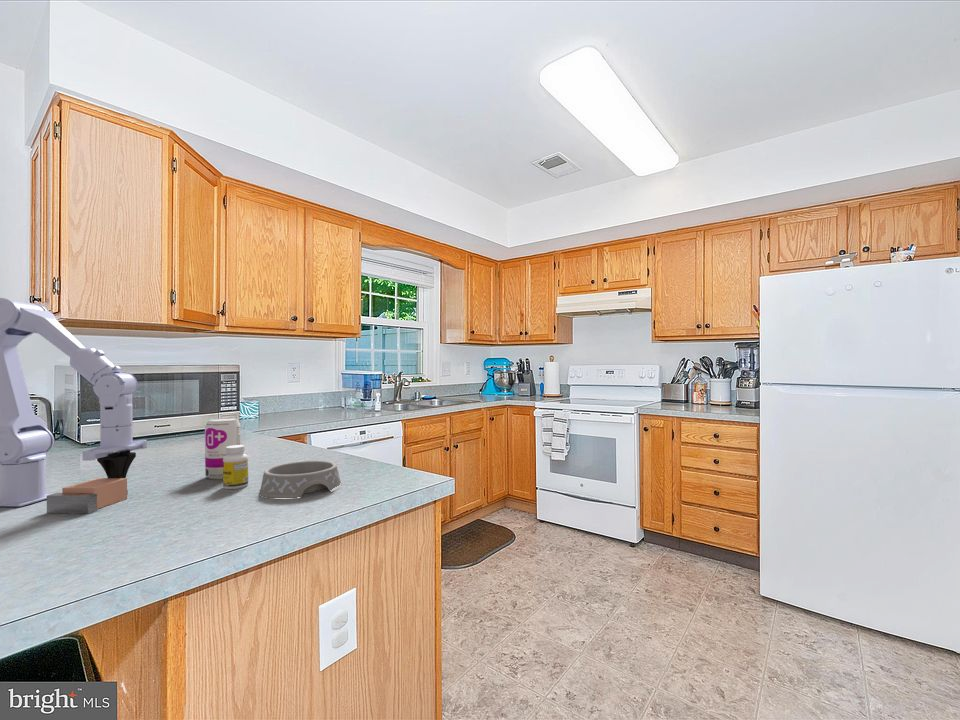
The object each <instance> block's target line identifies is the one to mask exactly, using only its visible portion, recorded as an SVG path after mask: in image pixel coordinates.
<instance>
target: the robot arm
mask: <svg viewBox="0 0 960 720" xmlns="http://www.w3.org/2000/svg"><path fill="white" fill-rule="evenodd" d="M34 334H38V335H39V336H41V337H42V338H44V339H45V340H46V341H48V342H49V343H50V344H52V345H53V346H54V347H55V348H57V349H59V350H60V351H61V352H63V354H65V355H66V356H68V357H69V366H70V367H72V368H73V369H74V370H75V372H77V373H79V374H80V376H82V377H84V379H86V380H87V381H88V382H89V383H90V384H92V389H93V392H94V394H95V395H96V396H97V398H98V401H99V402H98V403H99V408H100V410H99V411H100V412H99V414H100V415H99V416H100V417H99V422H100V425H99V427H100V431H99V432H100V439H99V440H100V446H98V447H94V448H91V449H88V450H83V451H82V461H83V462H84V461H95V460H97V462H98V463H99V464H100V466H101V467H102V469H103V471H104V472H105V475H106V478H127V475H128V471H129V469H130V467H131V465H132V463H133V462H134V460H135V458H136V456H137V453H136V452H135V450H136V451H137V450H141V449H147V448H148V445H147V444H148V443H147V442H148V440H147V439H137V440H133V437H134V436H133V426H134V425H133V420H134V419H133V395H134V394H135V392H137V389H138V387H139V385H138V380H137V378H136V377H135V376H134V374H133V373H131V372H127V371H122V370H121V369H122V368H121V366H119V365H115V364H114V363H113V362H111V361H110V360H109V358H107V357H106V356H105V355H106V352H104V351H103V350H101V349H96V348H95V347H85V346H84V344H82V343H81V342H80V341H79V339H77V338H76V337H75V336H74V335H73V334H71V332H70V331H69V330H68V329H66V328H65V326H64V325H62V324H61V323H60V322H59V321H58V319H56V317H55V314H53V312H51V311H49V310H48V309H46V307H44V306H43V305H42V304H41V303H40V304H39V303H35V302H26V301H19V300H13V299H8V298H5V297H0V507H16V508H17V507H23V506H27V505H30V504H34V503H38V502H41V501H45V500H47V495H51V494H52V493H47V479H46V477H47V476H46V475H47V469H46V467H47V463H46V461H47V460H46V459H47V457H48V453H49V452H51V450H52V449H53V448H54V445H55V437H54V434H53V433H52V432H51V430H49V429H48V428H47V425H46V422H45V420H43V419H42V418H40V416H37V415H36V414H35V413H34V409H33V405H32V401H31V398H30V397H31V396H30V394H29V390H28V389H29V388H28V385H27V382H26V378H25V373H24V371H23V367H22V363H21V360H20V356H19V352H18V349H17V347H18V345H19V344H21V342H22V341H23V340H25V339H26V338H28V337H30V336H32V335H34ZM132 451H134V452H132Z"/></svg>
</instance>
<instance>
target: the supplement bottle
mask: <svg viewBox="0 0 960 720" xmlns="http://www.w3.org/2000/svg"><path fill="white" fill-rule="evenodd" d="M245 450H246V447H245V445H244V444H241V445H232V446H227V447H226V453H227V456H225V457H224V458H223V479H222V481H223V482H222V485H223V487H222V488H223V489H226V490H238V489H241V488H242V489H243V488H245V487H247V486H249V456H248V455H247V454H246V453H245Z"/></svg>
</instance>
